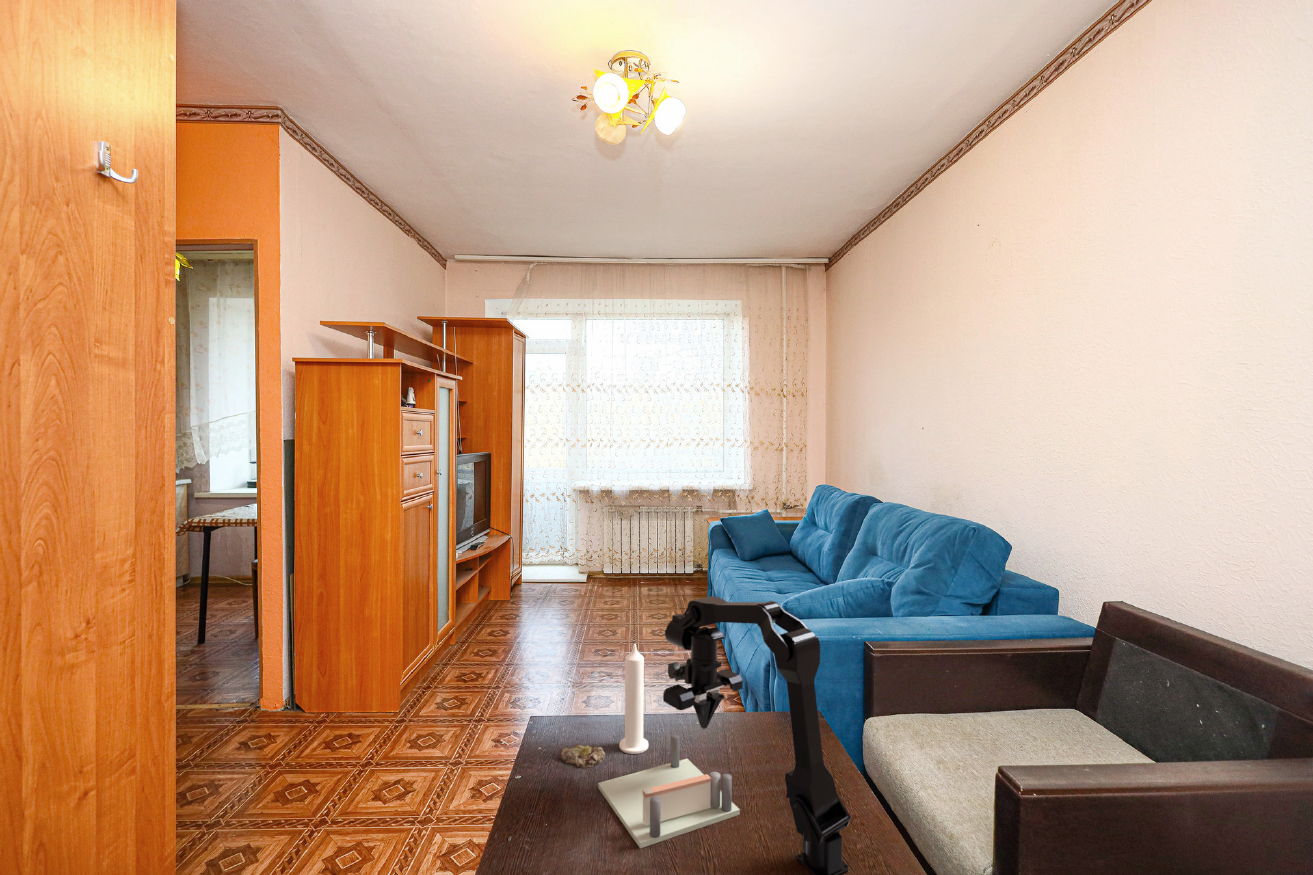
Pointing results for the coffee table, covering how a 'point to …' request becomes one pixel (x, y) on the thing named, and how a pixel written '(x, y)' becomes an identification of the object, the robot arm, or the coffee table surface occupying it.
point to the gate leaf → (684, 796)
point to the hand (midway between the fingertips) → (703, 727)
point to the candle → (634, 704)
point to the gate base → (633, 802)
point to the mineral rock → (583, 755)
